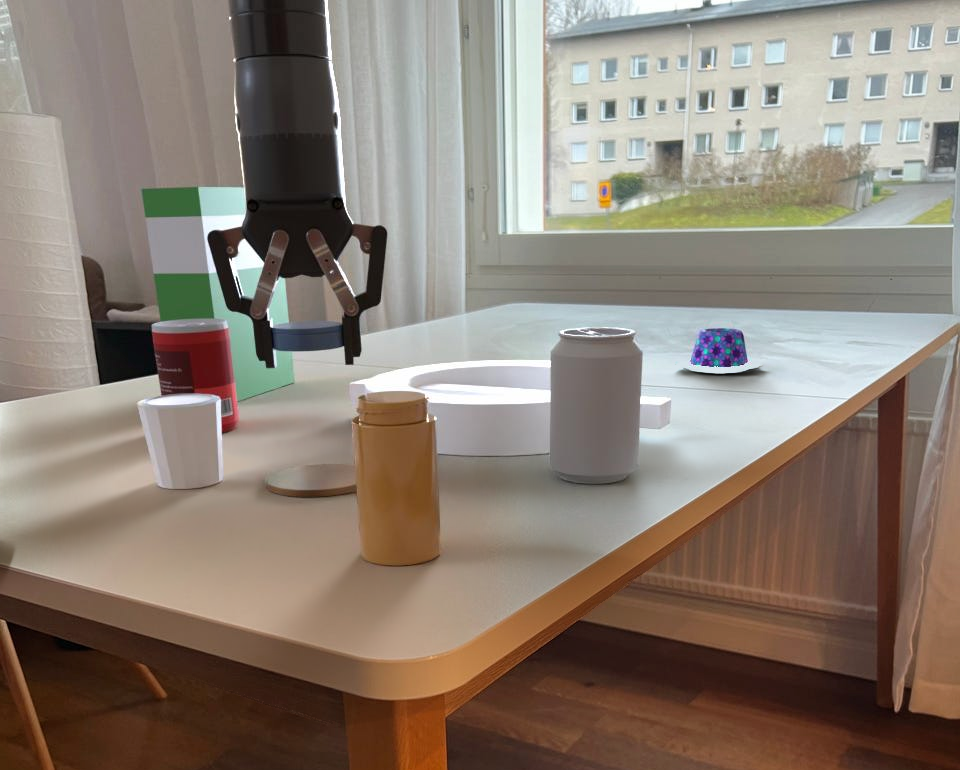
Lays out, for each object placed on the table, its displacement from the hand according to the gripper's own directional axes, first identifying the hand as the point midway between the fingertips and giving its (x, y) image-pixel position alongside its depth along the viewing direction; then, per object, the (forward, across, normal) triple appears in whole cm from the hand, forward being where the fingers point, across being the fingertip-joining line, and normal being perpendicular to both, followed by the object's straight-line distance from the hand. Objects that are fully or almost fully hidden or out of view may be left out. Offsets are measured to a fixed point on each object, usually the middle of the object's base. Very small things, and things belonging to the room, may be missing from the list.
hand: (310, 364), depth 80 cm
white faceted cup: (+10, +11, -3) cm, 16 cm away
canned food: (+10, +14, -26) cm, 31 cm away
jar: (+10, -6, +20) cm, 23 cm away
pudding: (+10, -52, -52) cm, 75 cm away
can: (+10, -23, +2) cm, 25 cm away
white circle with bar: (+10, -18, -21) cm, 29 cm away
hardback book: (+10, +13, -49) cm, 52 cm away
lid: (-3, 0, 0) cm, 3 cm away
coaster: (+10, 0, 0) cm, 10 cm away
